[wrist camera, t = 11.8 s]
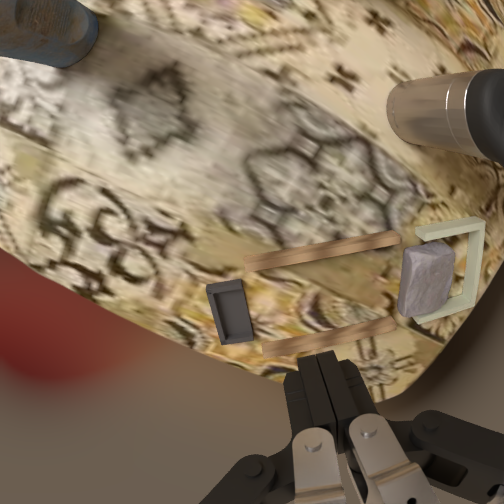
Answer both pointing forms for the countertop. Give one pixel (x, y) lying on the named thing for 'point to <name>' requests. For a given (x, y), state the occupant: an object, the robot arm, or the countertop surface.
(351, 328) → the channel
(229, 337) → the dark gray shallow tray
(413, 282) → the stone block
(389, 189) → the countertop surface
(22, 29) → the bottle
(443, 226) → the u-shaped green frame
